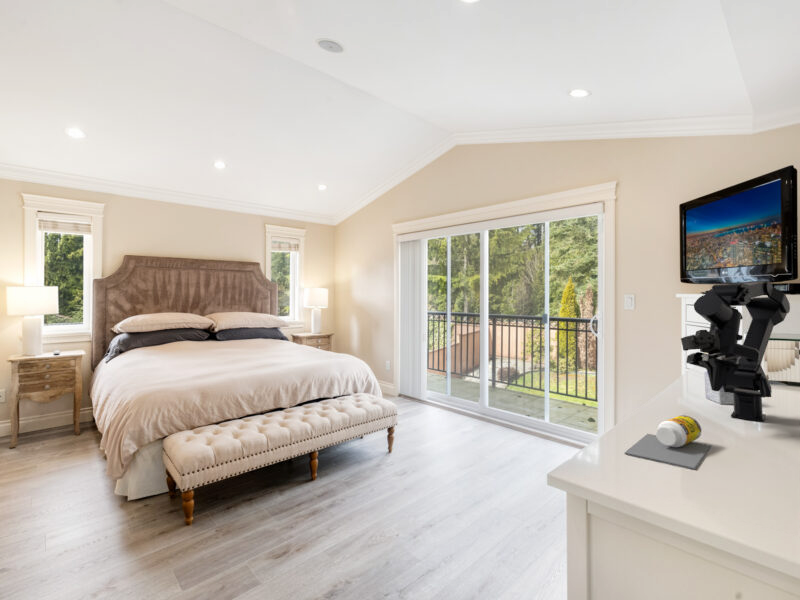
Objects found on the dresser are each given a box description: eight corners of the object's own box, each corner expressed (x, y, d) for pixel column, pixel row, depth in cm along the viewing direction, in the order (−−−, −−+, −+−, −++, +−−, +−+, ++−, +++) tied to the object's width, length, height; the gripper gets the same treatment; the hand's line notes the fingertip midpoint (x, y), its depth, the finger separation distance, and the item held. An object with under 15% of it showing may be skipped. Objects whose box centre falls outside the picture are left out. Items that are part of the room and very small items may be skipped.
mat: (647, 435, 95) (647, 433, 95) (710, 447, 86) (710, 445, 86) (624, 454, 84) (624, 452, 84) (694, 469, 75) (694, 467, 75)
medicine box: (736, 404, 118) (735, 375, 118) (719, 404, 119) (718, 375, 119) (721, 398, 126) (719, 371, 126) (705, 398, 127) (703, 371, 127)
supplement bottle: (708, 428, 87) (686, 438, 81) (691, 445, 89) (669, 455, 84) (684, 409, 90) (662, 417, 85) (669, 425, 93) (646, 434, 88)
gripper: (670, 328, 111) (660, 383, 108) (711, 312, 93) (701, 377, 90) (714, 340, 109) (706, 396, 105) (765, 326, 91) (757, 393, 87)
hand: (715, 390), depth 97 cm, fingers closed
